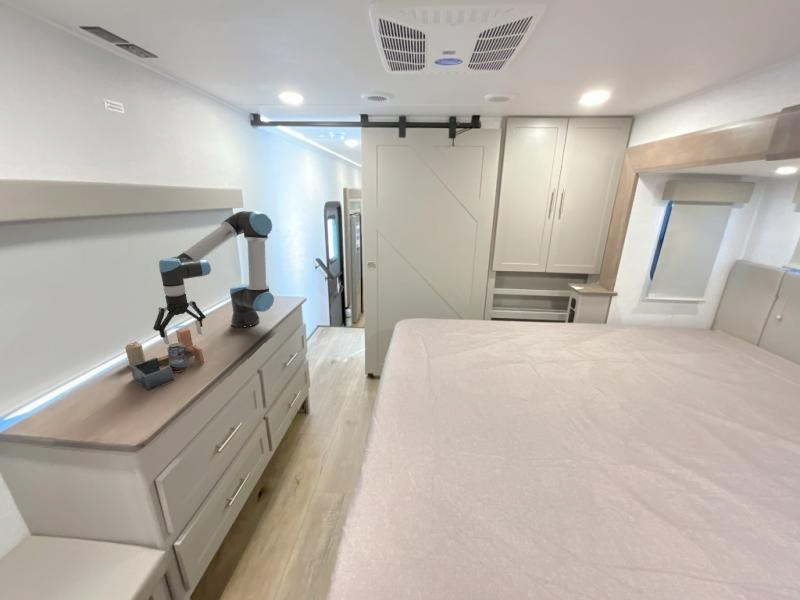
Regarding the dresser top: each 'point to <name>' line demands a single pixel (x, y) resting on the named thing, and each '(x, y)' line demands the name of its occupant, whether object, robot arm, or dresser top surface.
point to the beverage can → (177, 357)
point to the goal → (151, 374)
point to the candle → (135, 353)
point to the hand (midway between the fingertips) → (183, 338)
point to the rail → (165, 359)
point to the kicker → (189, 344)
